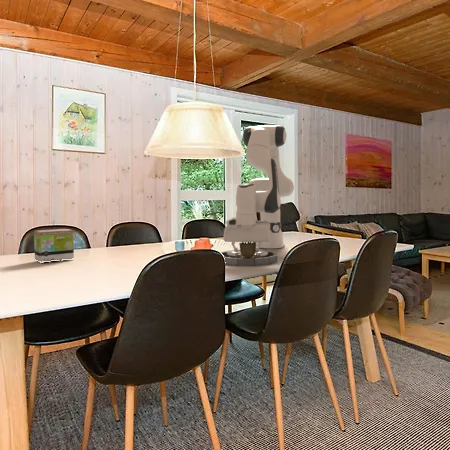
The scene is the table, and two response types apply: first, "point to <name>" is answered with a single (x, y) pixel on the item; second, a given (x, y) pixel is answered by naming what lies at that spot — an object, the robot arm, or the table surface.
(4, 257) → the table surface
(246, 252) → the cup
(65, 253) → the tea box
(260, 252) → the tray
